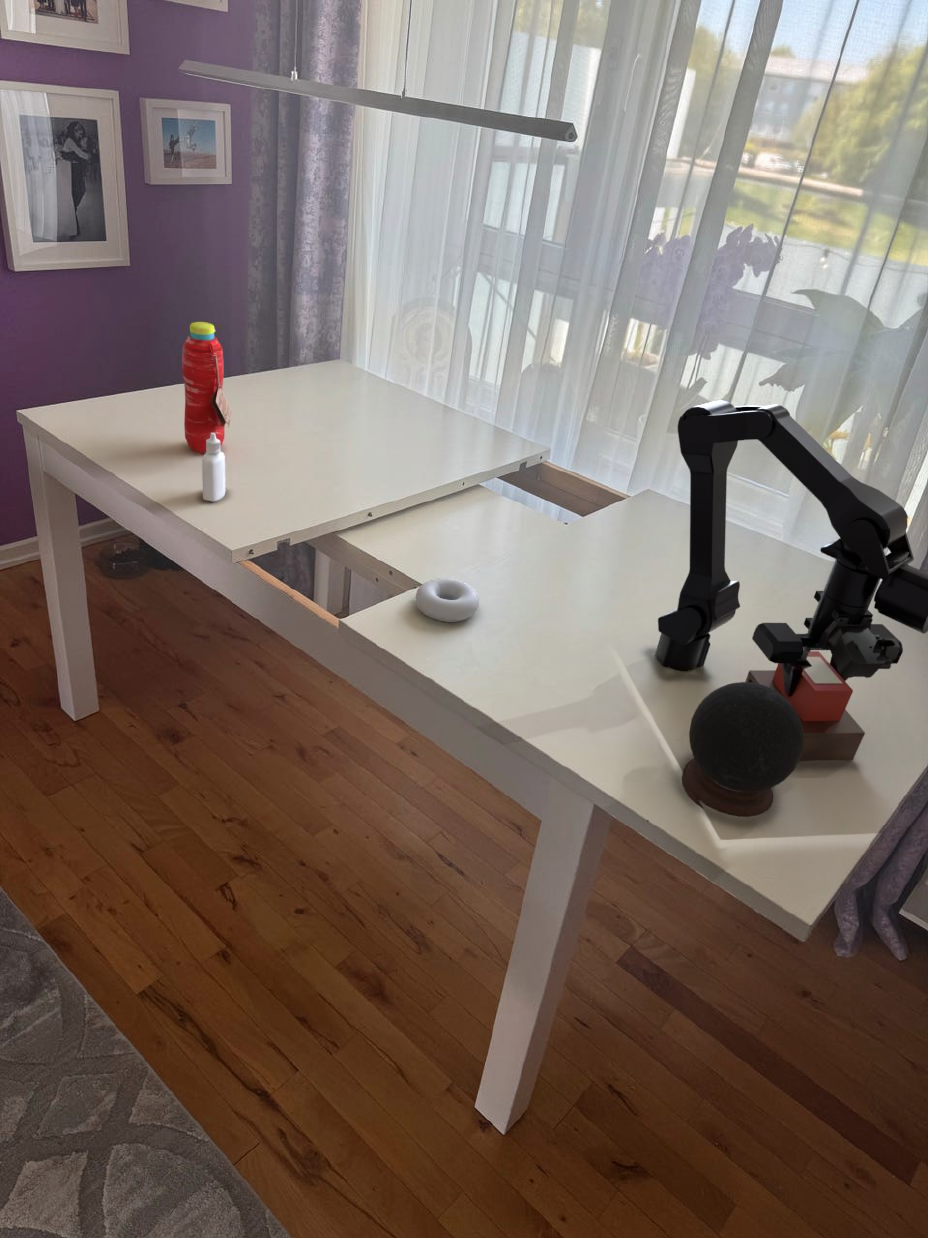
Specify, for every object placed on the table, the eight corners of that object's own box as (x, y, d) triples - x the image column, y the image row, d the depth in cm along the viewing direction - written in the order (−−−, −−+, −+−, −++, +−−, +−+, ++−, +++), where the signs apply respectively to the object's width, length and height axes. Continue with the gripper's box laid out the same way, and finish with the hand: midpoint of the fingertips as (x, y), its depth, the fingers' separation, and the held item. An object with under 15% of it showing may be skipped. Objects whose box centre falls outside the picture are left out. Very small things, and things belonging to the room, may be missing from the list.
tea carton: (802, 721, 119) (815, 690, 116) (771, 680, 126) (782, 650, 123) (840, 721, 120) (853, 690, 117) (807, 680, 127) (819, 650, 125)
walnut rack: (783, 766, 119) (796, 734, 116) (738, 700, 131) (749, 670, 128) (851, 764, 121) (865, 732, 118) (800, 700, 133) (812, 670, 130)
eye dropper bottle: (194, 495, 164) (191, 432, 158) (218, 488, 169) (217, 426, 162) (209, 504, 162) (208, 440, 156) (234, 496, 166) (233, 433, 160)
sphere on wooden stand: (785, 777, 117) (823, 683, 109) (772, 842, 106) (814, 743, 99) (685, 742, 121) (715, 648, 113) (663, 801, 110) (695, 703, 102)
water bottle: (243, 457, 182) (243, 331, 169) (208, 465, 176) (206, 336, 163) (210, 437, 188) (207, 314, 175) (175, 444, 183) (170, 318, 170)
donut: (456, 634, 136) (489, 607, 144) (459, 615, 135) (492, 588, 142) (401, 610, 140) (436, 585, 148) (403, 591, 138) (438, 567, 146)
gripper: (812, 630, 106) (771, 734, 114) (950, 631, 110) (901, 732, 118) (768, 581, 115) (734, 681, 123) (897, 584, 119) (855, 681, 127)
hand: (807, 694), depth 123 cm, fingers closed on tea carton, 5 cm apart
